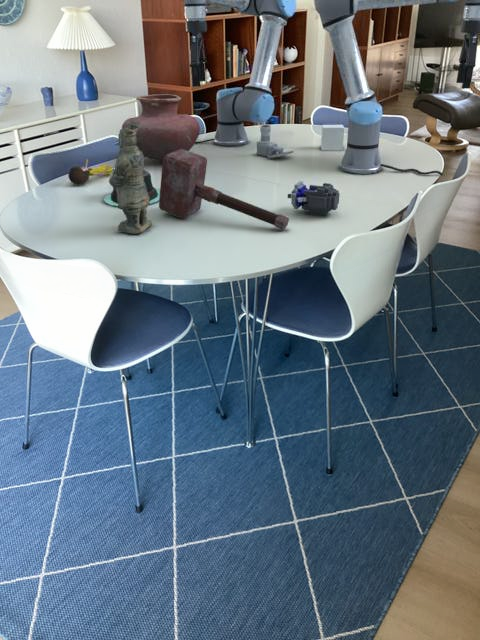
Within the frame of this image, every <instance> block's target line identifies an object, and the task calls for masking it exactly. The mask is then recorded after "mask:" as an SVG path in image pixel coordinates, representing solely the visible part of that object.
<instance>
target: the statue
mask: <svg viewBox="0 0 480 640" xmlns="http://www.w3.org/2000/svg"><path fill="white" fill-rule="evenodd" d="M138 127H139V123H138V122H137V121H133V122H131V123H128V124H127V125H126V126H125V127H124V128H123V129H122V128H121V129H119V133H118V139H117V141H119V143H118V146H119V152H118V154H117V156H116V160H115V164H114V166H115V170H113V172H114V175H113V176H112V175H111V176H110V177H109V180H108V183H109V184H110V186H111V187H112V188H113V187H114V188H115V189H116V192H117V202H118V206H117V209H119V210H122V213H123V214H124V215H125V218H126V219H125V220H122V221H120V222H119V224H118V225H117V231H118V232H121V233H126V234H134V235H136V234H142V233H143V232H145V231H146V230H147V229H148V228H150V227H151V226H152V225H153V223H152V220H150V219H148V216H147V214H148V213H147V212H148V211H147V209H148V206H149V205H150V197H149V195H148V192H147V188H146V184H145V182H144V178H143V169H144V165H145V157H144V156H143V153H142V151H141V150H139V149H138V147H137V146H136V143H137V138H136V131H137V130H138Z"/></svg>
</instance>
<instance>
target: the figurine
mask: <svg viewBox="0 0 480 640" xmlns="http://www.w3.org/2000/svg"><path fill="white" fill-rule="evenodd" d="M88 163H89V158H86V160H85V166H82V167H81V166H79V165H76V166H72V167H71V168H70V169H69V171H68V175H67V177H68V178H69V181H70V182H71V183H72V184H73V185H76V186H77V185H78V186H79V185H83V184H85V183H87V182H88V181H89V179H90V177H94V176H96V177H97V176H98V177H99V176H104V175H112V172H114V170H115V165H113V163H111V162H109V163H108V164H103V165H100V166H98V167H95V168H88Z"/></svg>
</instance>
